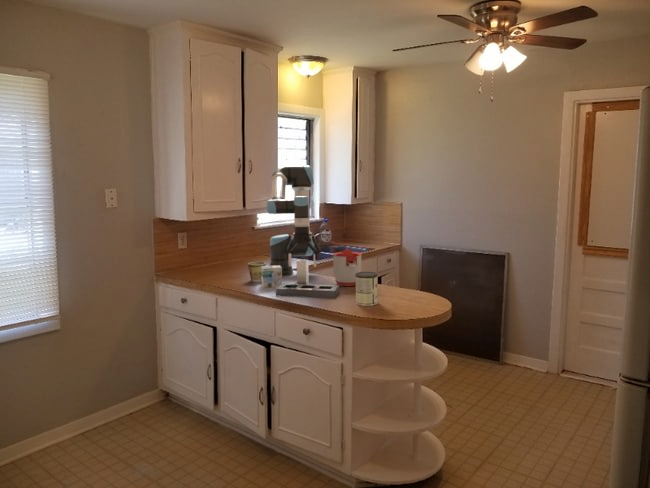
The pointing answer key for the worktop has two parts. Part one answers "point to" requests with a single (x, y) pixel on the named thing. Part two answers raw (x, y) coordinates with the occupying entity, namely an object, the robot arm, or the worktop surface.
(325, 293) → the grey flat slotted block
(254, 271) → the ceramic cup
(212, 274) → the worktop surface
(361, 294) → the coffee can
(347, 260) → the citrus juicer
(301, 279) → the beige square block
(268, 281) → the light bulb box
